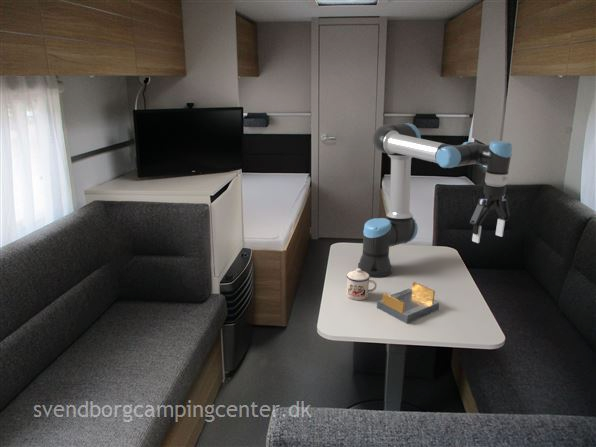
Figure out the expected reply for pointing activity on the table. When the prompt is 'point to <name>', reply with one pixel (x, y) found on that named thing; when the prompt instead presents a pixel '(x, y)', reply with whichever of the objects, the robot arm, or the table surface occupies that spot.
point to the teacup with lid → (358, 285)
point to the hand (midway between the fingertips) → (487, 238)
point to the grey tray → (409, 303)
